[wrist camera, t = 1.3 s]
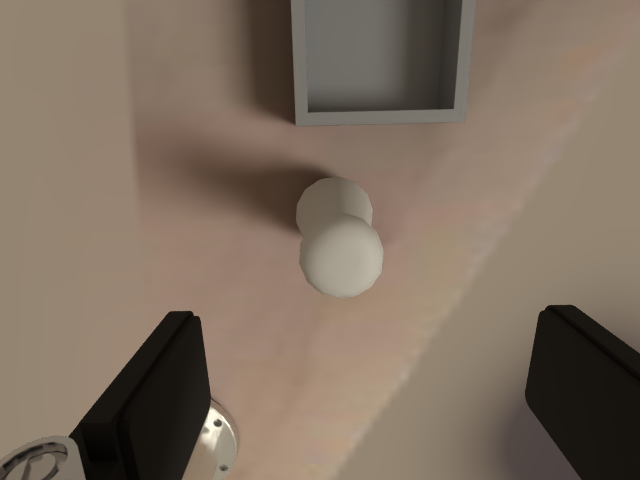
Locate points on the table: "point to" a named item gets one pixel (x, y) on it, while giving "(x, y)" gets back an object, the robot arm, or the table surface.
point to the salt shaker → (338, 238)
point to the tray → (381, 61)
